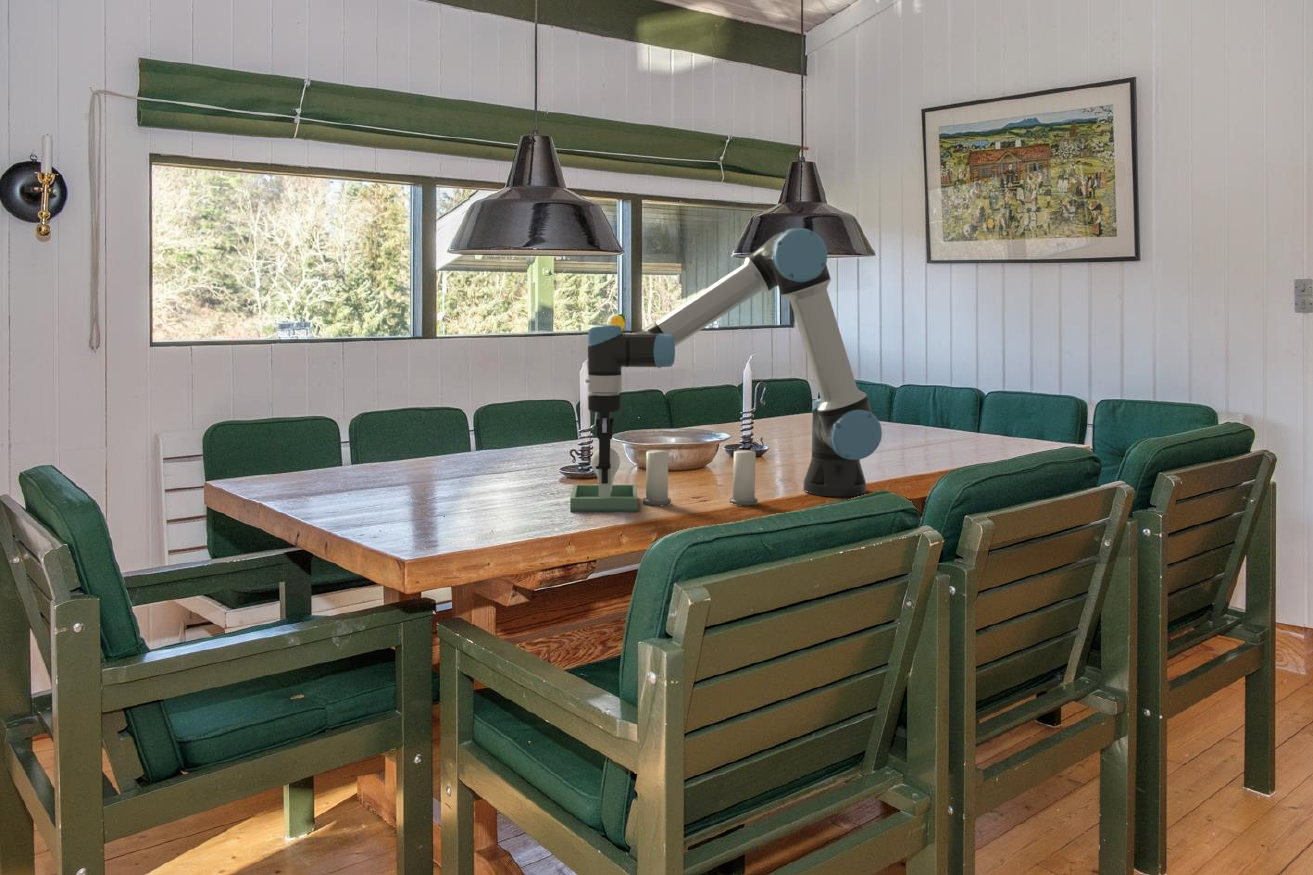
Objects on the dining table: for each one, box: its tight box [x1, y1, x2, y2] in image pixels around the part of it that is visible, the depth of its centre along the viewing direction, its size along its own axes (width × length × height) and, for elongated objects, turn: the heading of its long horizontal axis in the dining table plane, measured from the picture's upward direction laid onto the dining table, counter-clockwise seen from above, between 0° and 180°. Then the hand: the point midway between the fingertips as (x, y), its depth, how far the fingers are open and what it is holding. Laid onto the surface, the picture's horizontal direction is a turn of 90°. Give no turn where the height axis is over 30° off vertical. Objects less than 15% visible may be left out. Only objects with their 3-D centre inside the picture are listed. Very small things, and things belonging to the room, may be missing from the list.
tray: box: [569, 484, 639, 513], centre depth 246 cm, size 15×17×3 cm
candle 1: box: [642, 449, 672, 507], centre depth 247 cm, size 6×6×12 cm
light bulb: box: [590, 447, 621, 492], centre depth 246 cm, size 7×7×11 cm
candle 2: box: [729, 449, 759, 507], centre depth 248 cm, size 6×6×12 cm
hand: (604, 494), depth 246 cm, fingers closed on light bulb, 6 cm apart
